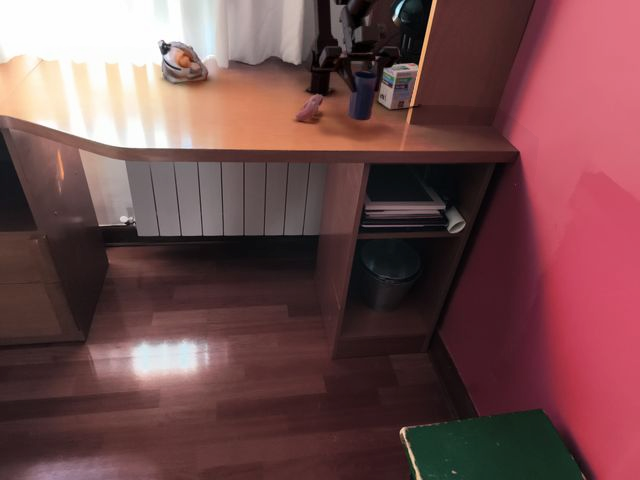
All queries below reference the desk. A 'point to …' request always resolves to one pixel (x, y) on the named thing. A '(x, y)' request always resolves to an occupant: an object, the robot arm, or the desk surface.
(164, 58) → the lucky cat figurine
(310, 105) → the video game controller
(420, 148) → the desk surface
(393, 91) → the light bulb box
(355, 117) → the pencil cup
